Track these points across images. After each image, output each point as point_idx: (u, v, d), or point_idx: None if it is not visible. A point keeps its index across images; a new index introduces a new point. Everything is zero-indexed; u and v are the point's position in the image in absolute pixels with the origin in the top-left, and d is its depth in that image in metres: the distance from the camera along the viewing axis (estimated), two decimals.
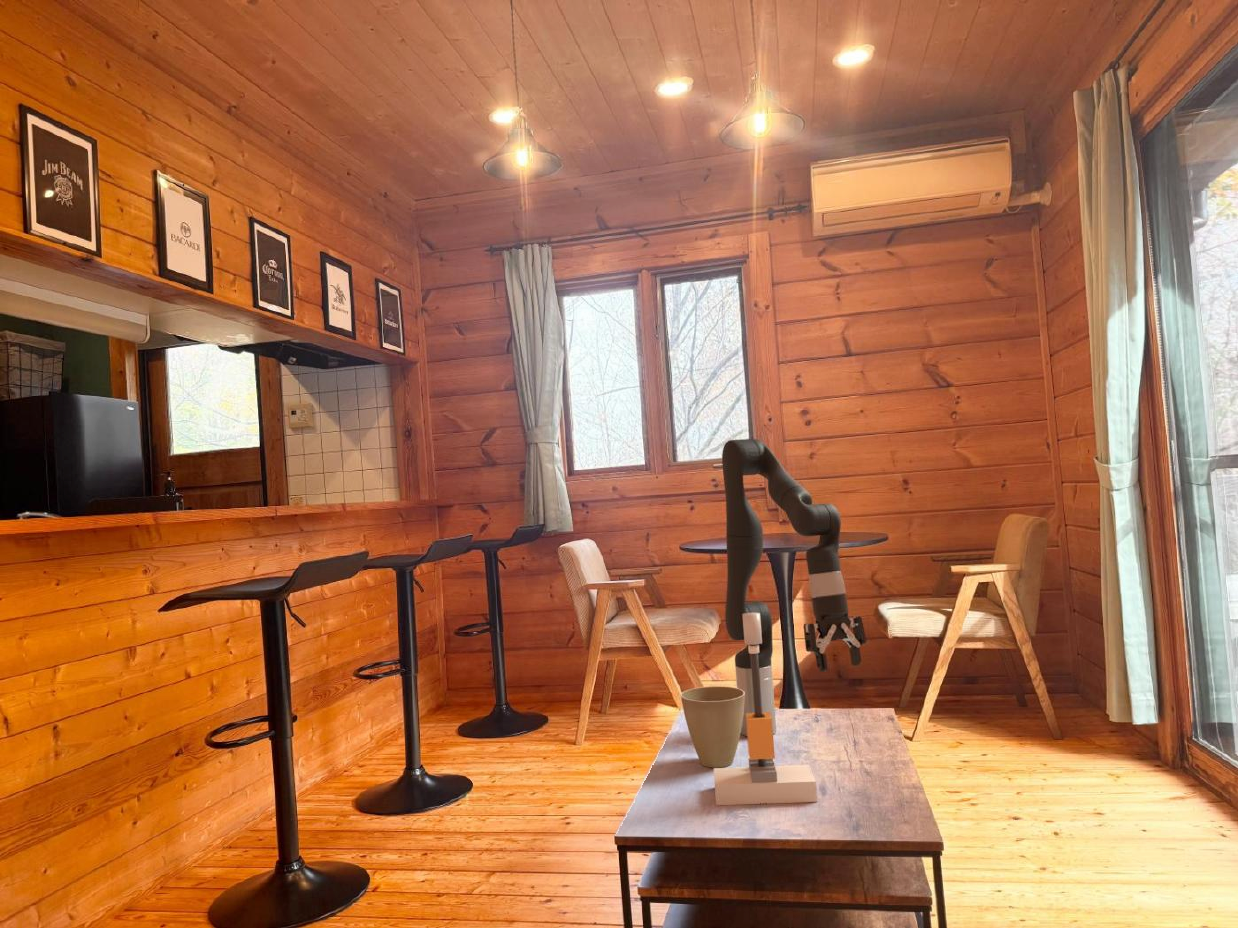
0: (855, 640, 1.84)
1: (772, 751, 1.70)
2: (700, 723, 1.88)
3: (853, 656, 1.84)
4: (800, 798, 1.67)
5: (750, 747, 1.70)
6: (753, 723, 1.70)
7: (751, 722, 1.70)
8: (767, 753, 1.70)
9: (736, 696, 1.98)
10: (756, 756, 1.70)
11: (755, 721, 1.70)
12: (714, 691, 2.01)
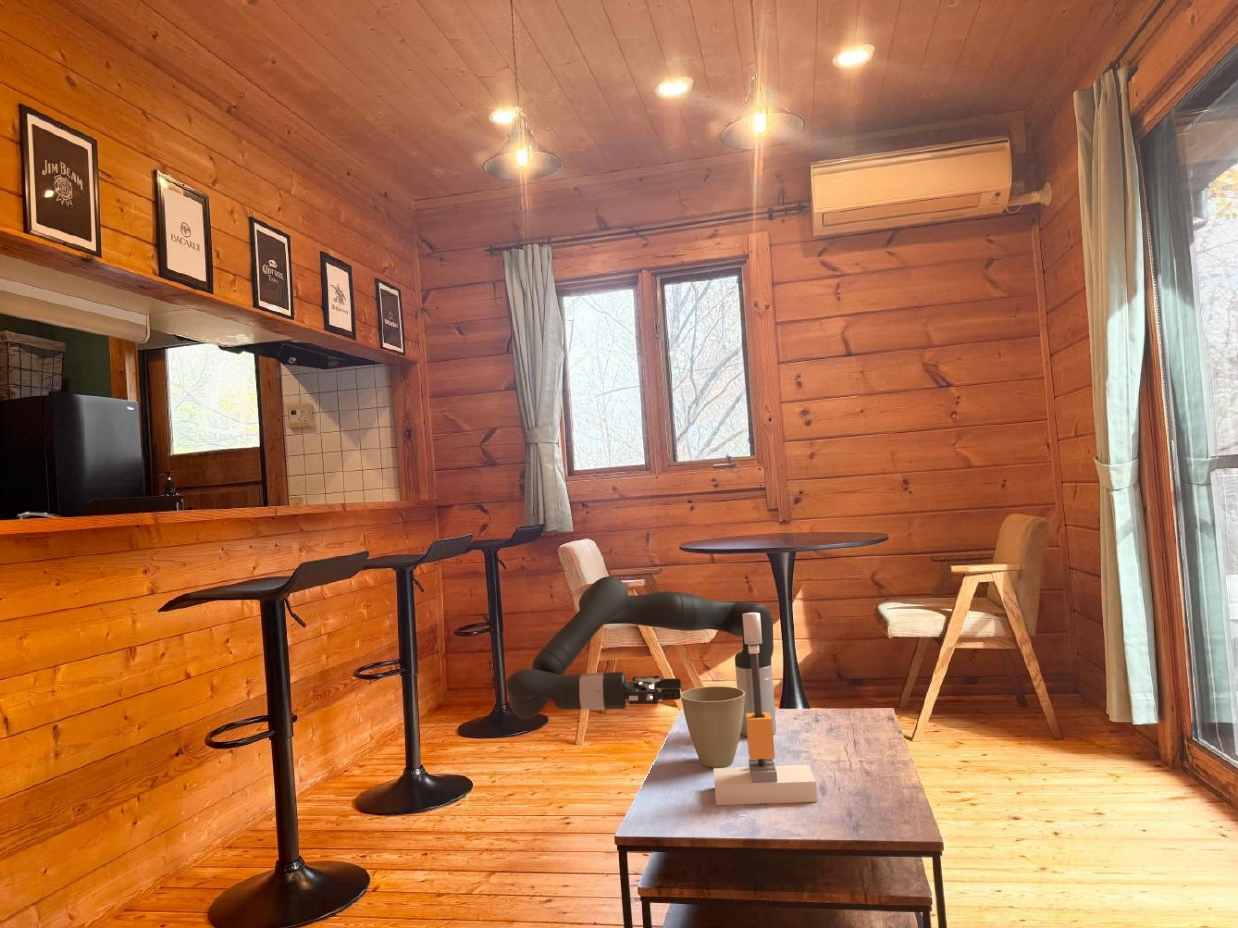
0: None
1: (772, 751, 1.70)
2: (700, 723, 1.88)
3: None
4: (800, 798, 1.67)
5: (750, 747, 1.70)
6: (753, 723, 1.70)
7: (751, 722, 1.70)
8: (767, 753, 1.70)
9: (736, 696, 1.98)
10: (756, 756, 1.70)
11: (755, 721, 1.70)
12: (714, 691, 2.01)
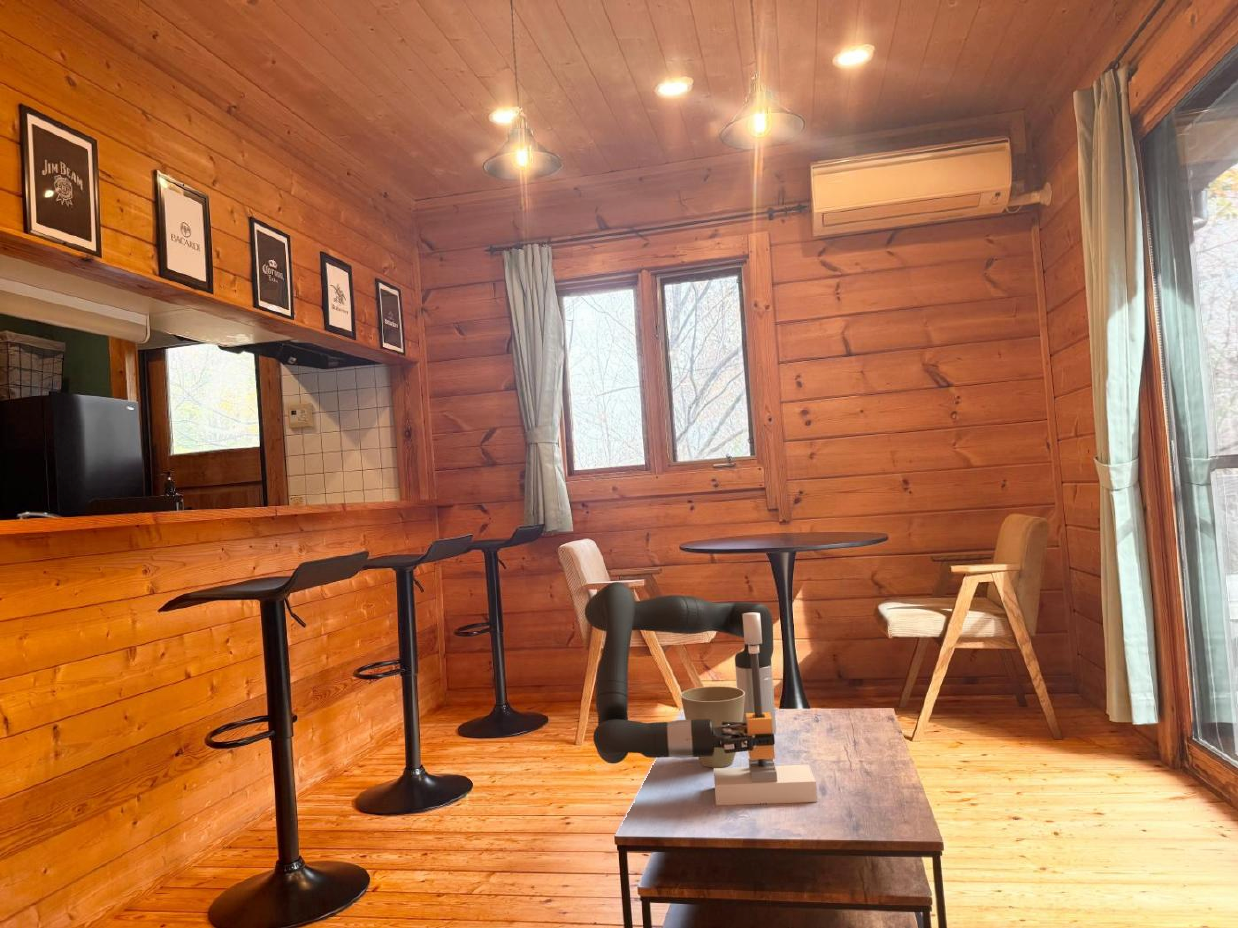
0: None
1: (772, 751, 1.70)
2: None
3: None
4: (800, 798, 1.67)
5: None
6: (753, 723, 1.70)
7: (751, 722, 1.70)
8: (767, 753, 1.70)
9: (736, 696, 1.98)
10: (756, 756, 1.70)
11: (755, 721, 1.70)
12: (714, 691, 2.01)
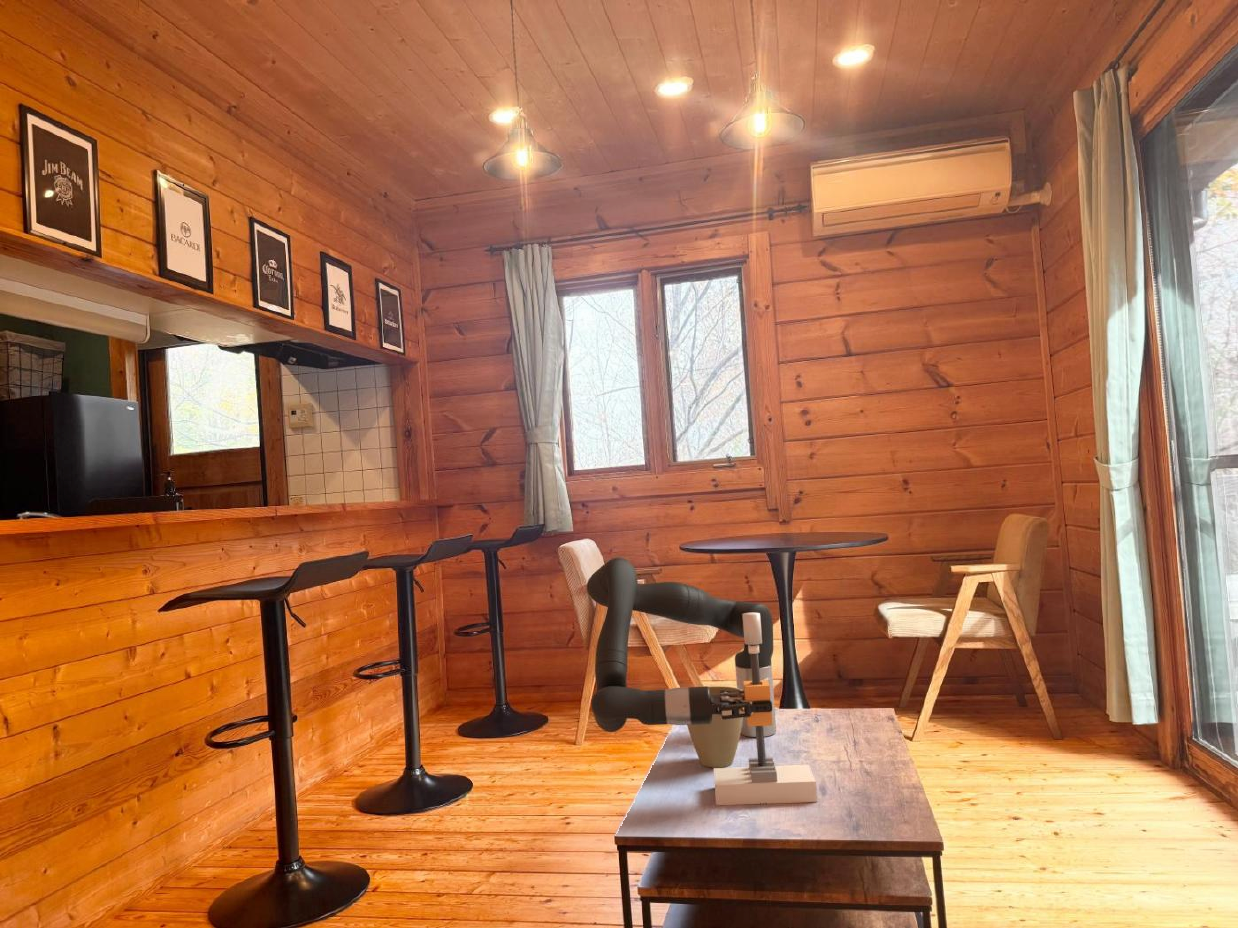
0: None
1: (770, 718, 1.70)
2: None
3: None
4: (800, 798, 1.67)
5: None
6: (751, 690, 1.70)
7: (748, 689, 1.70)
8: (765, 720, 1.70)
9: None
10: (754, 723, 1.70)
11: (753, 688, 1.70)
12: (714, 691, 2.01)
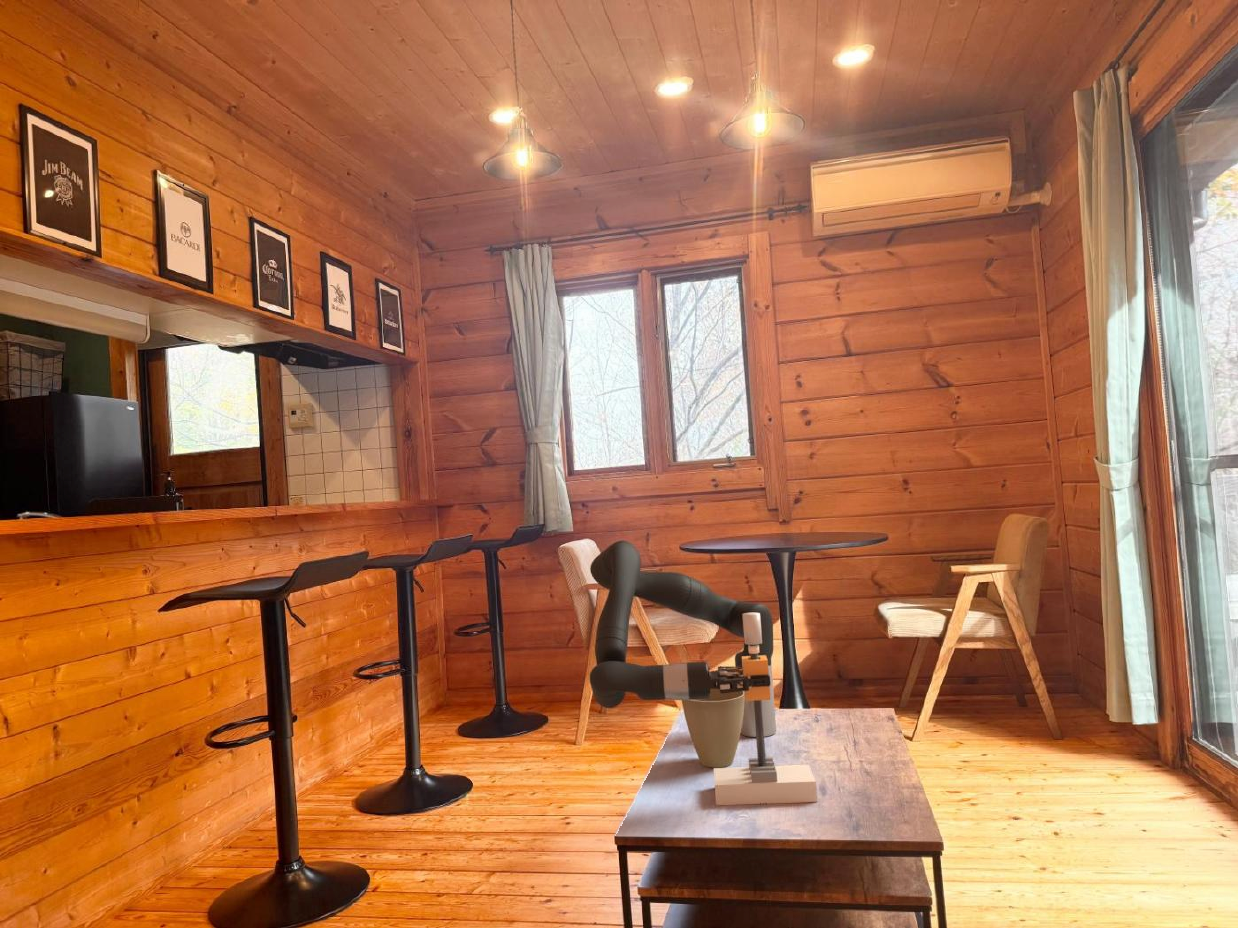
0: None
1: (768, 692, 1.70)
2: (700, 723, 1.89)
3: None
4: (800, 798, 1.67)
5: None
6: (749, 665, 1.71)
7: (746, 664, 1.71)
8: (763, 694, 1.70)
9: (736, 696, 1.98)
10: (752, 697, 1.70)
11: (751, 663, 1.71)
12: (714, 691, 2.01)
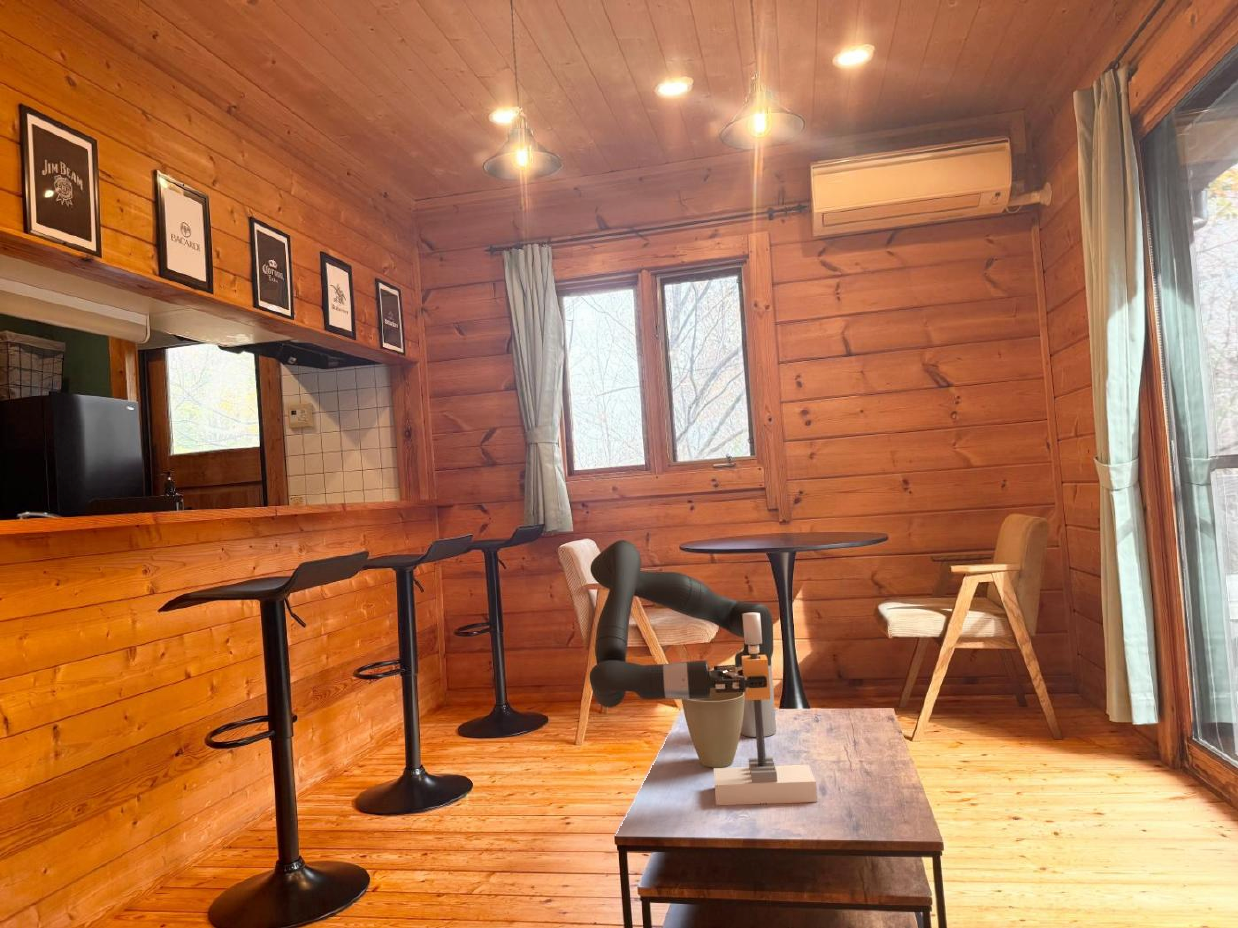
0: None
1: (768, 692, 1.70)
2: (700, 723, 1.88)
3: None
4: (800, 798, 1.67)
5: None
6: (749, 664, 1.71)
7: (746, 663, 1.71)
8: (763, 694, 1.70)
9: (736, 696, 1.98)
10: (752, 697, 1.70)
11: (751, 662, 1.71)
12: (714, 691, 2.01)
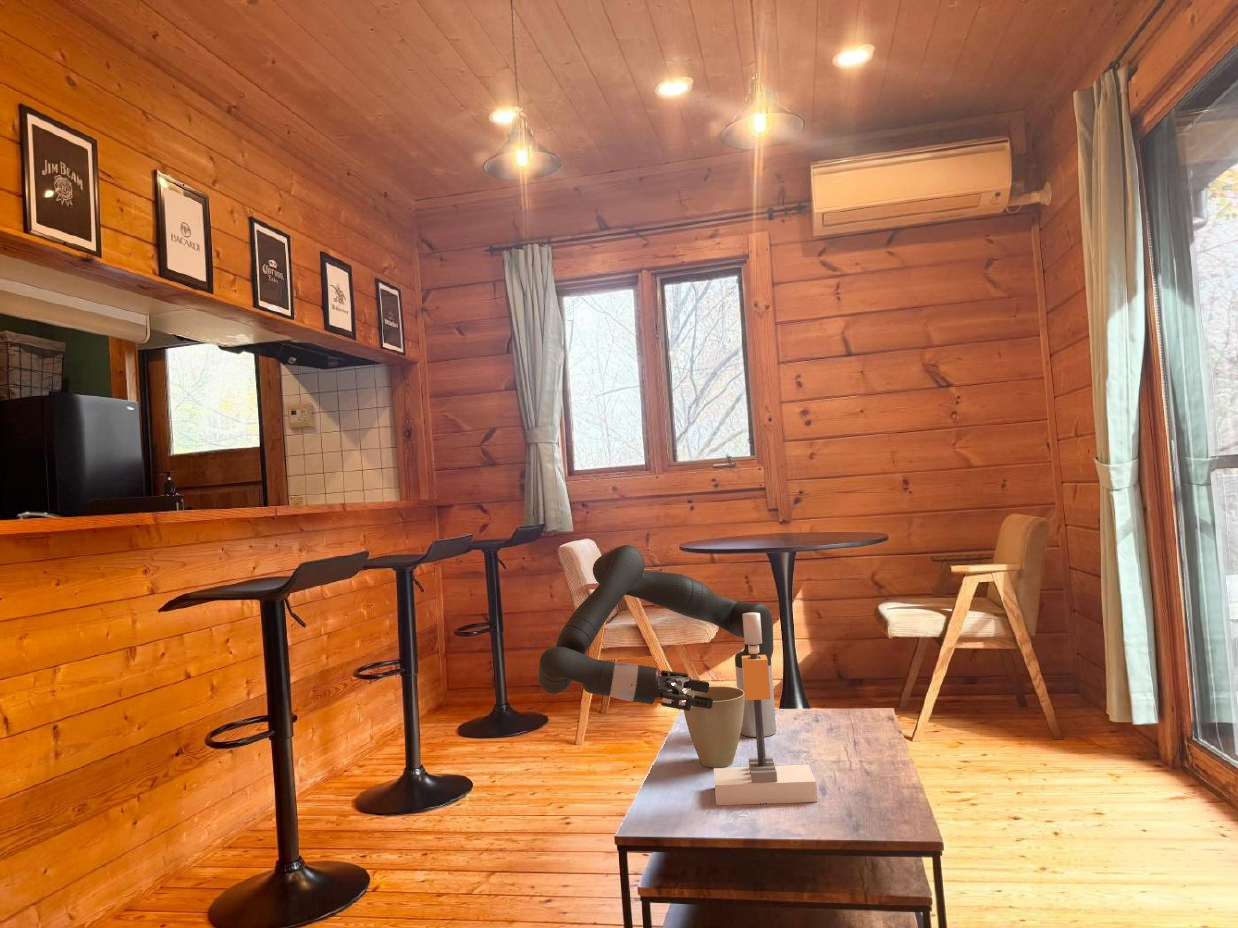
0: None
1: (768, 692, 1.70)
2: (700, 723, 1.88)
3: None
4: (800, 798, 1.67)
5: (746, 688, 1.70)
6: (749, 664, 1.71)
7: (746, 663, 1.71)
8: (763, 694, 1.70)
9: (736, 696, 1.98)
10: (752, 697, 1.70)
11: (751, 662, 1.71)
12: (714, 691, 2.01)
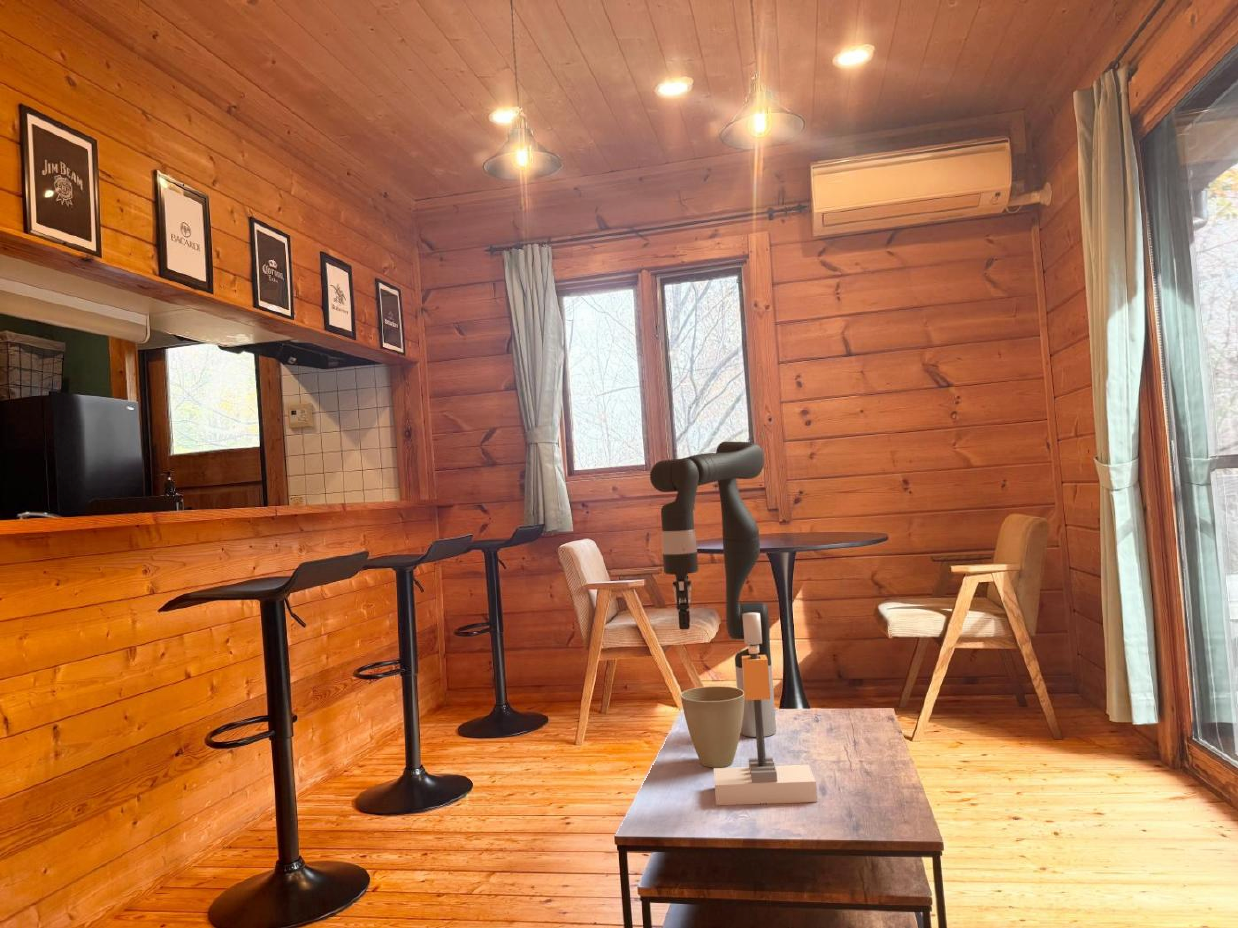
0: None
1: (768, 692, 1.70)
2: (700, 723, 1.88)
3: None
4: (800, 798, 1.67)
5: (746, 688, 1.70)
6: (749, 664, 1.71)
7: (746, 663, 1.71)
8: (763, 694, 1.70)
9: (736, 696, 1.98)
10: (752, 697, 1.70)
11: (751, 662, 1.71)
12: (714, 691, 2.01)
